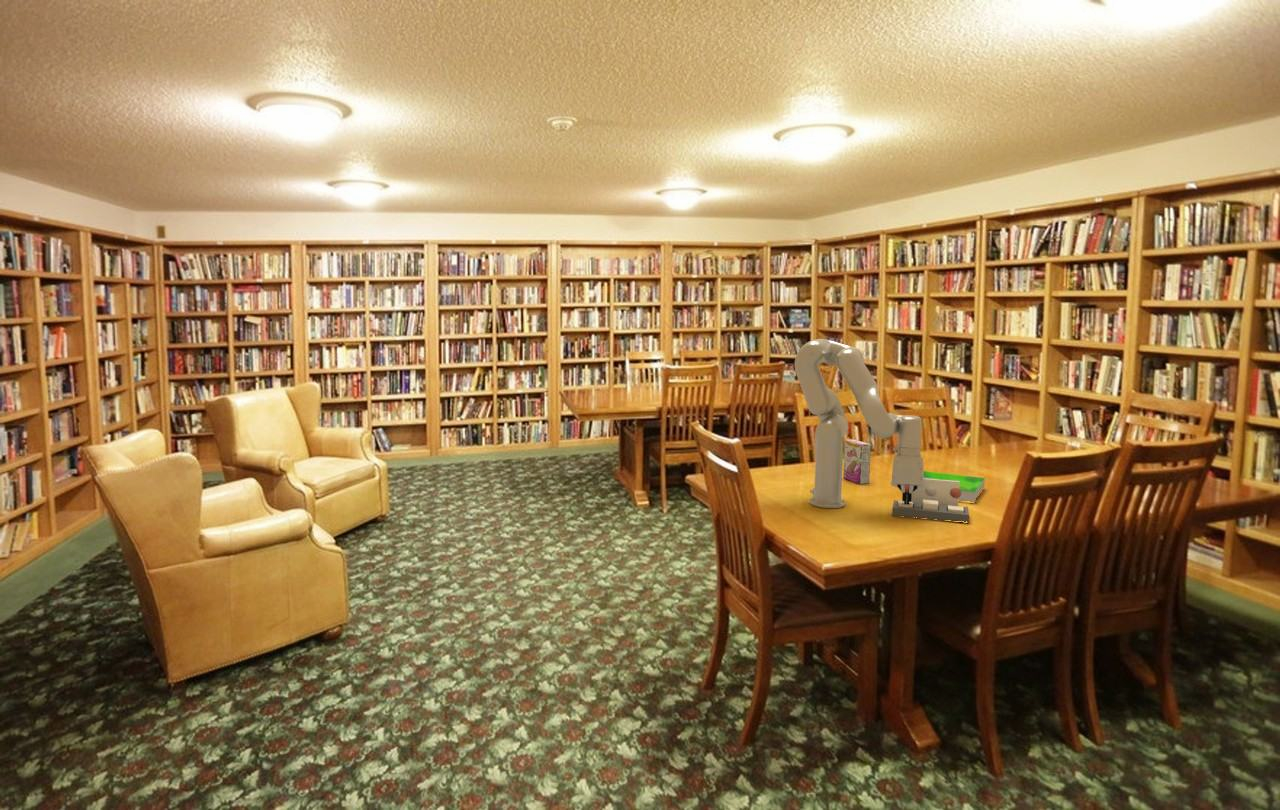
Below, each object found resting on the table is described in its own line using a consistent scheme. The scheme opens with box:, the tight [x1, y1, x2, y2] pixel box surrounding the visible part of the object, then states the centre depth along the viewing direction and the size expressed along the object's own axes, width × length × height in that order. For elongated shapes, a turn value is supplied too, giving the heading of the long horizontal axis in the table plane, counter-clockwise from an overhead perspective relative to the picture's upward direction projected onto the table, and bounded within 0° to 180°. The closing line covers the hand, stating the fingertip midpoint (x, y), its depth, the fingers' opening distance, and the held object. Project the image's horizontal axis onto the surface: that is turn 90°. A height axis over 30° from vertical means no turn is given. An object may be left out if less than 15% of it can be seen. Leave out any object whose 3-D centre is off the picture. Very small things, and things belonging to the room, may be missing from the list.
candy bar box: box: [842, 438, 872, 485], centre depth 297 cm, size 11×5×16 cm, turn 22°
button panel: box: [891, 478, 970, 523], centre depth 251 cm, size 24×14×11 cm, turn 68°
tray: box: [924, 470, 986, 502], centre depth 281 cm, size 25×25×5 cm
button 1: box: [897, 500, 913, 508], centre depth 253 cm, size 5×5×3 cm
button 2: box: [948, 505, 964, 513], centre depth 247 cm, size 5×5×3 cm
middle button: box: [923, 500, 938, 510], centre depth 250 cm, size 5×5×3 cm
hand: (906, 503), depth 253 cm, fingers closed
